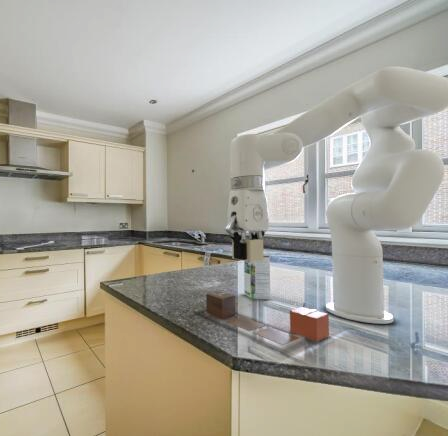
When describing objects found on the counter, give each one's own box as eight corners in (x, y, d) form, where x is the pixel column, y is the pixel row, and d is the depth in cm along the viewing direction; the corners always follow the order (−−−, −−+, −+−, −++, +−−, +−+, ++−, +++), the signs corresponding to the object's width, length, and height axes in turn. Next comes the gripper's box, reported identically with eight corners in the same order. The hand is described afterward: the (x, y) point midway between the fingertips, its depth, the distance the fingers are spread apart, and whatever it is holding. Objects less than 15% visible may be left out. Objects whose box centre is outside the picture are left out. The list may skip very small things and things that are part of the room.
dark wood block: (219, 309, 68) (219, 290, 68) (235, 315, 63) (235, 295, 63) (206, 312, 65) (206, 293, 65) (222, 318, 61) (221, 298, 61)
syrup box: (243, 294, 83) (242, 251, 83) (261, 294, 82) (260, 251, 83) (252, 299, 77) (251, 253, 77) (271, 299, 77) (270, 253, 77)
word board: (220, 307, 70) (220, 306, 70) (308, 340, 51) (308, 337, 51) (196, 313, 66) (196, 311, 66) (283, 351, 46) (283, 349, 46)
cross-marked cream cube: (245, 257, 65) (244, 238, 65) (263, 259, 60) (263, 239, 61) (232, 258, 63) (232, 238, 63) (250, 261, 58) (250, 239, 58)
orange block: (303, 328, 56) (302, 306, 56) (329, 337, 52) (329, 313, 52) (289, 333, 54) (288, 310, 54) (316, 343, 49) (315, 318, 49)
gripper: (237, 181, 55) (238, 263, 54) (282, 186, 62) (283, 257, 62) (210, 185, 61) (211, 258, 61) (254, 189, 69) (255, 254, 69)
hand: (247, 257), depth 62 cm, fingers closed on cross-marked cream cube, 5 cm apart
